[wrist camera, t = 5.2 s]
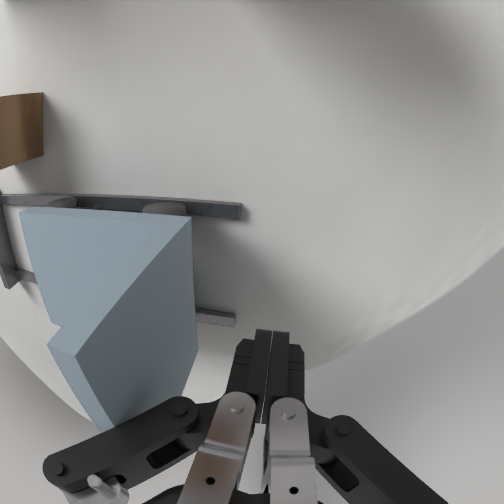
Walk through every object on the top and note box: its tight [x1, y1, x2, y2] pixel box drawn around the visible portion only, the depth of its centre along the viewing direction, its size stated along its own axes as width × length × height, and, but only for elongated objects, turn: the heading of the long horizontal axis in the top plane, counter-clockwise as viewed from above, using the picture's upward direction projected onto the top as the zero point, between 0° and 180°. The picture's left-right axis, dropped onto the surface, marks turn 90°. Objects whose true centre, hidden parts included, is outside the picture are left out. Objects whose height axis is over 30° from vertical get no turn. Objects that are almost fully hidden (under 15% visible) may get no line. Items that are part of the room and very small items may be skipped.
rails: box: [0, 194, 241, 327], centre depth 18 cm, size 24×10×2 cm, turn 86°
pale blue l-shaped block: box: [19, 197, 198, 433], centre depth 13 cm, size 12×9×12 cm
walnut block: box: [0, 93, 44, 170], centre depth 13 cm, size 5×5×5 cm
